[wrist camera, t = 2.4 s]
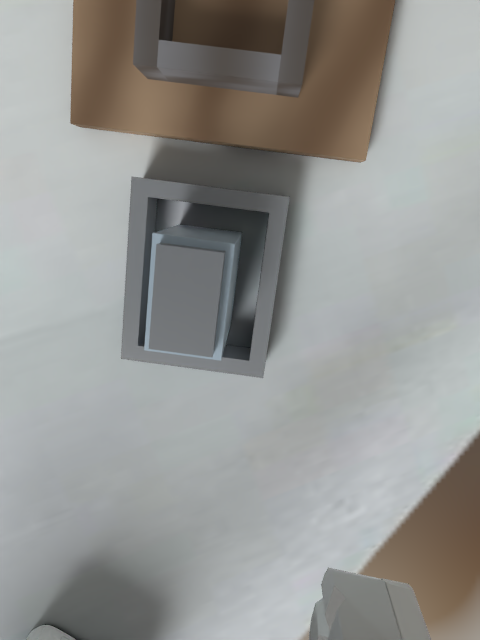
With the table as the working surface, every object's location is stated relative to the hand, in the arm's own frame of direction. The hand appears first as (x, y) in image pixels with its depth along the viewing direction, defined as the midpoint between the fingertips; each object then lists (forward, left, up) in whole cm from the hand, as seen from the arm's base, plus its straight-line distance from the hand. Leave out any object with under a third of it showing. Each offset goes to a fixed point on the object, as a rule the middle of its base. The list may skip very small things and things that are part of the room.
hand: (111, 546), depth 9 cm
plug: (-1, +1, -22) cm, 22 cm away
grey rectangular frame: (-1, +1, -22) cm, 22 cm away
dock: (-1, +17, -22) cm, 28 cm away
